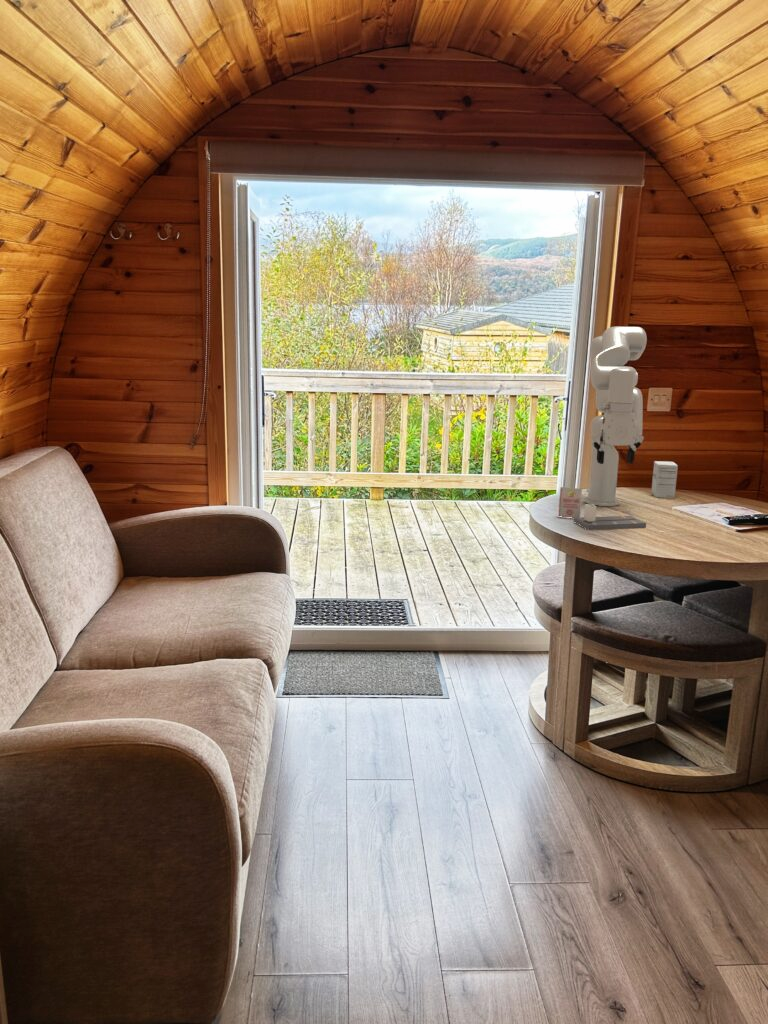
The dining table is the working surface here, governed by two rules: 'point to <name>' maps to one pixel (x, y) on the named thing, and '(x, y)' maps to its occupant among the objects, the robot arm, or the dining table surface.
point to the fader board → (611, 522)
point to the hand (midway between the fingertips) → (615, 463)
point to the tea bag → (570, 502)
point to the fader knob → (590, 512)
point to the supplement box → (664, 479)
